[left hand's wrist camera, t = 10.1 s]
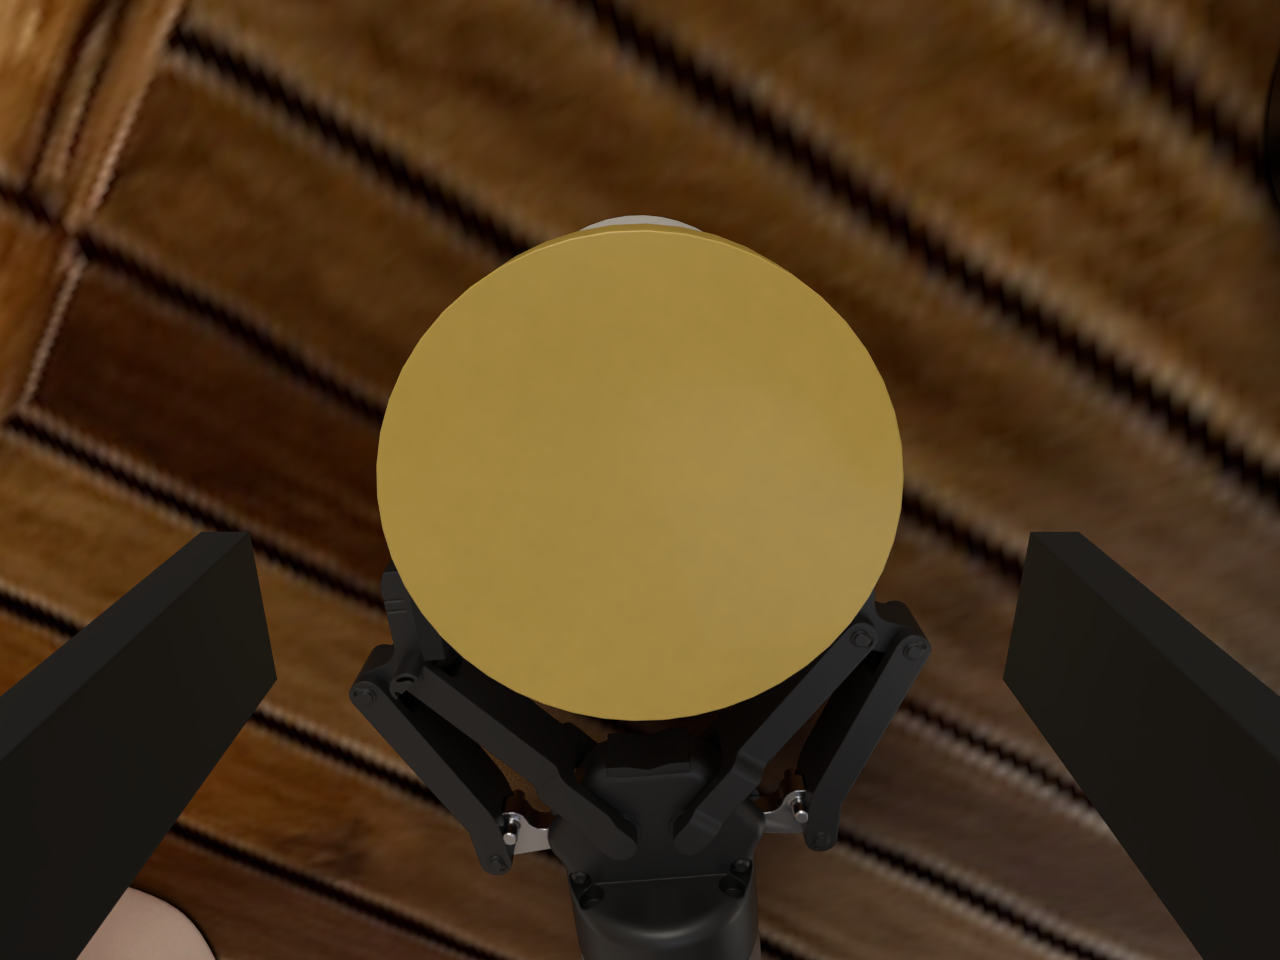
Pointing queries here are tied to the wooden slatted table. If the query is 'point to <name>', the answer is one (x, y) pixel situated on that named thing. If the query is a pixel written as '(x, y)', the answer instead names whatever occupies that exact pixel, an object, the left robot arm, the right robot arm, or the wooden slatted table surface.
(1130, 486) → the wooden slatted table surface
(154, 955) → the anatomical model
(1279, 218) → the wooden slatted table surface
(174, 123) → the wooden slatted table surface
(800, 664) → the lid
